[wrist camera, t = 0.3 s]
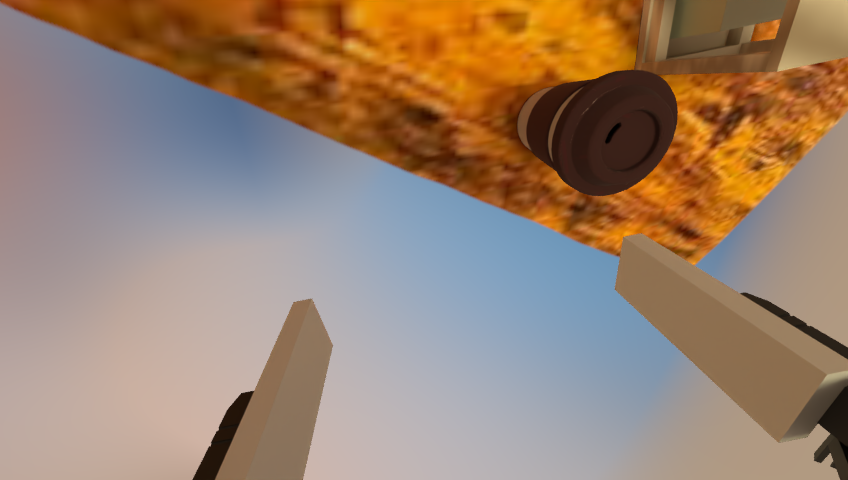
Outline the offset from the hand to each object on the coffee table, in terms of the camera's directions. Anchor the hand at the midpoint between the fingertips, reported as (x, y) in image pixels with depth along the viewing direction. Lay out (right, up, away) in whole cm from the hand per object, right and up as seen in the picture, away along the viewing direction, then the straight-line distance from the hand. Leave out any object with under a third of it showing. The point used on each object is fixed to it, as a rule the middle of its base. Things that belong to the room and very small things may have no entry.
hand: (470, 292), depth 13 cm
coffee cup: (+13, +17, +24) cm, 32 cm away
